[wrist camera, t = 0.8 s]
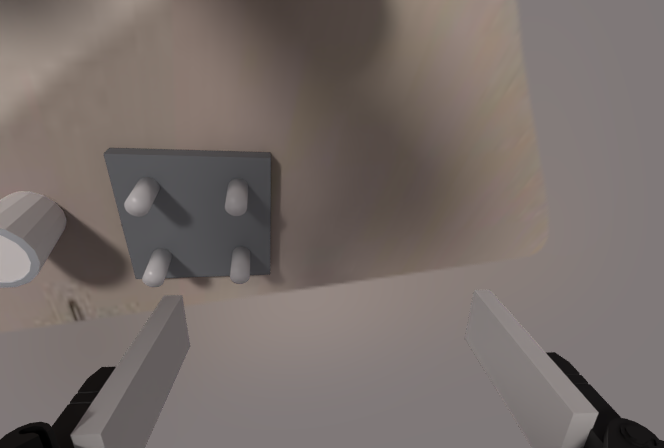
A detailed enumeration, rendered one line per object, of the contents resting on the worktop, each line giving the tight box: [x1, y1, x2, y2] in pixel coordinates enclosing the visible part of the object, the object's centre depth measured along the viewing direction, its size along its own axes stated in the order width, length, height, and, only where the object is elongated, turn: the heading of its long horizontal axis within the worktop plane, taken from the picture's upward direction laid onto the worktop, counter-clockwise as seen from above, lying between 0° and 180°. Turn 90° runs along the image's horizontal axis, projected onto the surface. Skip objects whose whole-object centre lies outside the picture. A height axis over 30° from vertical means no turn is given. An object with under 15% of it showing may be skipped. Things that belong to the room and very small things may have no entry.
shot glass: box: [0, 191, 67, 288], centre depth 33 cm, size 7×7×7 cm
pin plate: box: [104, 148, 271, 287], centre depth 37 cm, size 15×15×6 cm
